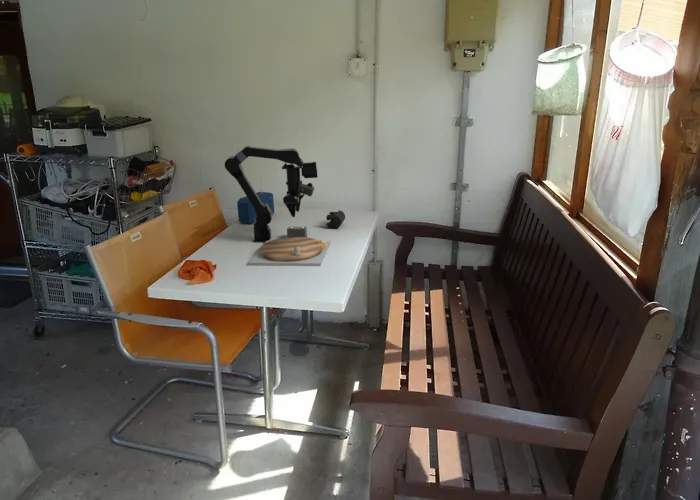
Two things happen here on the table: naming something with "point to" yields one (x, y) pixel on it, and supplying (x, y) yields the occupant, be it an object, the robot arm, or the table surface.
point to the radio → (247, 209)
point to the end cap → (335, 219)
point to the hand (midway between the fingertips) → (295, 214)
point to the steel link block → (296, 231)
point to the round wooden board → (291, 249)
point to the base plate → (313, 261)
